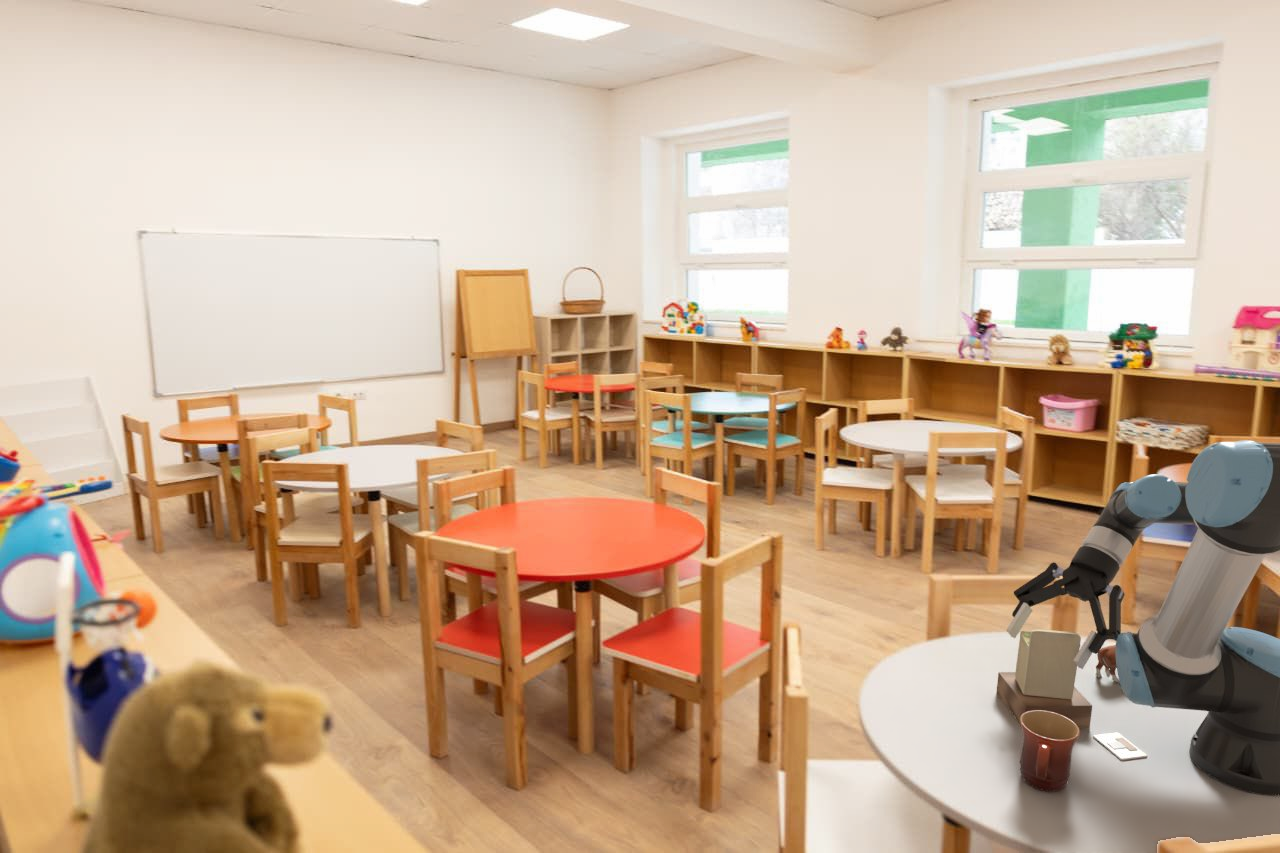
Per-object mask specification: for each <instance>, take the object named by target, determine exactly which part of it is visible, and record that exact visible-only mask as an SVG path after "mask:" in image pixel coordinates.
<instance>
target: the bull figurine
mask: <svg viewBox="0 0 1280 853" xmlns="http://www.w3.org/2000/svg"><path fill="white" fill-rule="evenodd" d="M1115 649H1116V644H1113V645H1108V646H1104V647H1101V649H1100V651H1099V652H1098V653H1097V654H1096V656H1097V660H1098V663H1097V664H1096V665H1095V669H1096V673H1095V676H1096V677H1097V678H1099V679H1101V678H1102V677H1103V676H1102V674H1101V671H1102V668H1103V667H1104V672H1105V674H1106V677H1107V678H1109V677H1110V676H1111V678H1112V679H1111V680H1112V681H1113V682H1114V683H1120V681H1119V677H1117V676H1116V671H1117V666H1116V654H1115Z"/></svg>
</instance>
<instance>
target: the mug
mask: <svg viewBox="0 0 1280 853" xmlns="http://www.w3.org/2000/svg"><path fill="white" fill-rule="evenodd" d="M1020 723H1021V725H1020V726H1021V730H1022V731H1021V732H1022V745H1021V752H1020V759H1019V769H1020V775H1021V777H1022V779H1023V780H1024V781H1025V782H1026V783H1027V784H1028V785H1029V786H1031V787H1033V788H1036V789H1037V790H1040V791H1043V792H1048V793H1049V792H1050V793H1051V792H1058V791H1061V790H1064V789H1065V788H1066V786H1067V784H1068V783H1069V781H1070V780H1069V778H1070V776H1071V769H1072V768H1071V766H1072V757H1073V756H1072V754H1073V748H1074V746H1075V744H1076V742H1077V740H1078V739H1079V737H1080V734H1081V733H1080V732H1081V731H1080V728H1078V726H1077V725H1076V724H1075V723H1074V722H1073V721H1072V720H1070V719H1068V718H1067V717H1065V716H1063V715H1060V714H1057V713H1054V712H1050V711H1044V710H1032V711H1027V712H1025V713H1023V714H1022V715H1021V717H1020Z"/></svg>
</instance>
